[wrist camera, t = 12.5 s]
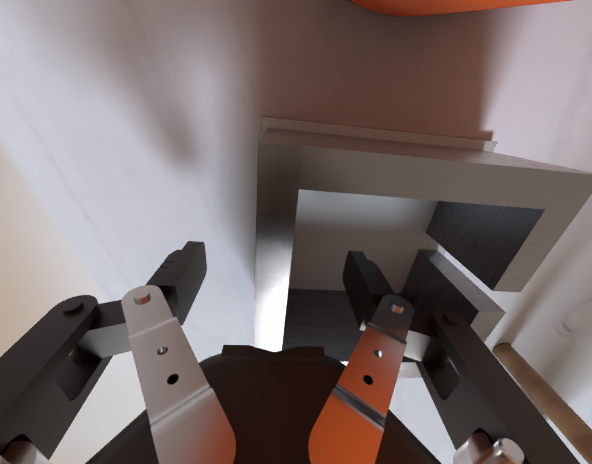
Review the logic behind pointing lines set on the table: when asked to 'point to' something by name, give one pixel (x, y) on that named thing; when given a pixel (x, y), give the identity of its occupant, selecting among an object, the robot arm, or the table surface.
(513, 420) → the robot arm
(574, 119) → the table surface
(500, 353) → the walnut post
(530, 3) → the flowerpot
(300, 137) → the grey open box
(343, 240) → the grey mat
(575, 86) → the table surface
